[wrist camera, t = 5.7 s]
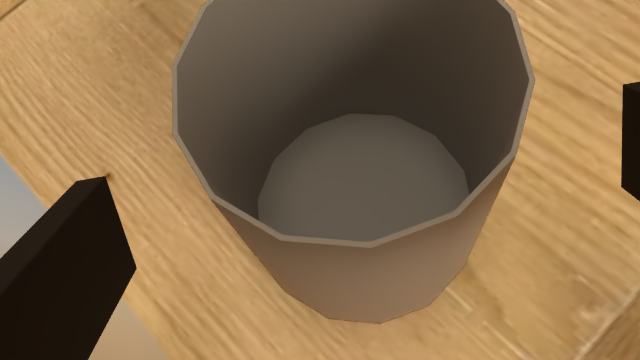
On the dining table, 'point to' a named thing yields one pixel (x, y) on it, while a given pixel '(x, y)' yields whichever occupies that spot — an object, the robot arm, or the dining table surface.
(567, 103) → the dining table surface
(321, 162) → the cup
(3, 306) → the robot arm
